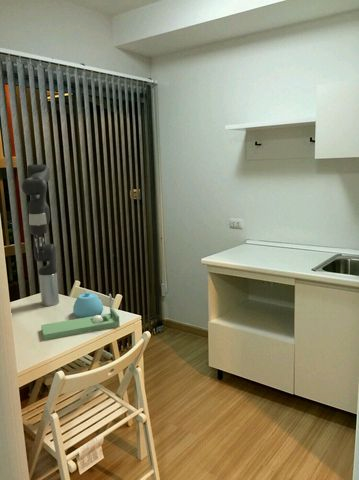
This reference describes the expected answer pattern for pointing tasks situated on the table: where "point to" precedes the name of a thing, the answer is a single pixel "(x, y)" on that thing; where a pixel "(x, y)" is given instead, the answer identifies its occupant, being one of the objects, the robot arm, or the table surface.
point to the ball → (97, 319)
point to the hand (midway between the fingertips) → (41, 259)
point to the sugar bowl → (87, 305)
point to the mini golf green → (79, 326)
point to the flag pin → (110, 305)
